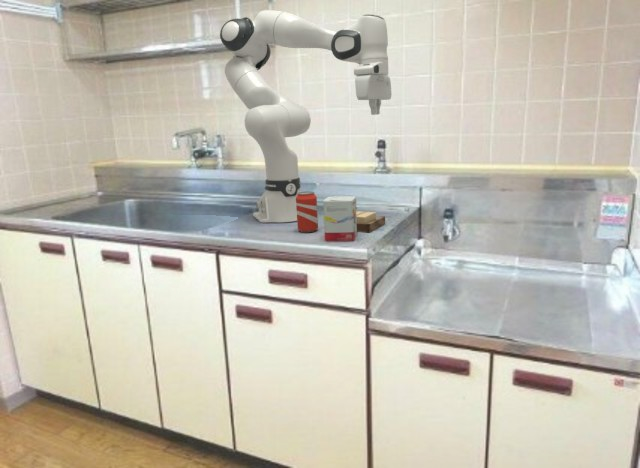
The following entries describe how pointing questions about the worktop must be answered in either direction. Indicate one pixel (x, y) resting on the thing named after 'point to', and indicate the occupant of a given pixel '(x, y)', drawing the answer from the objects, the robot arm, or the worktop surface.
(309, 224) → the beverage can
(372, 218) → the carton
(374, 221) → the brown u-shaped frame
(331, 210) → the ink box
